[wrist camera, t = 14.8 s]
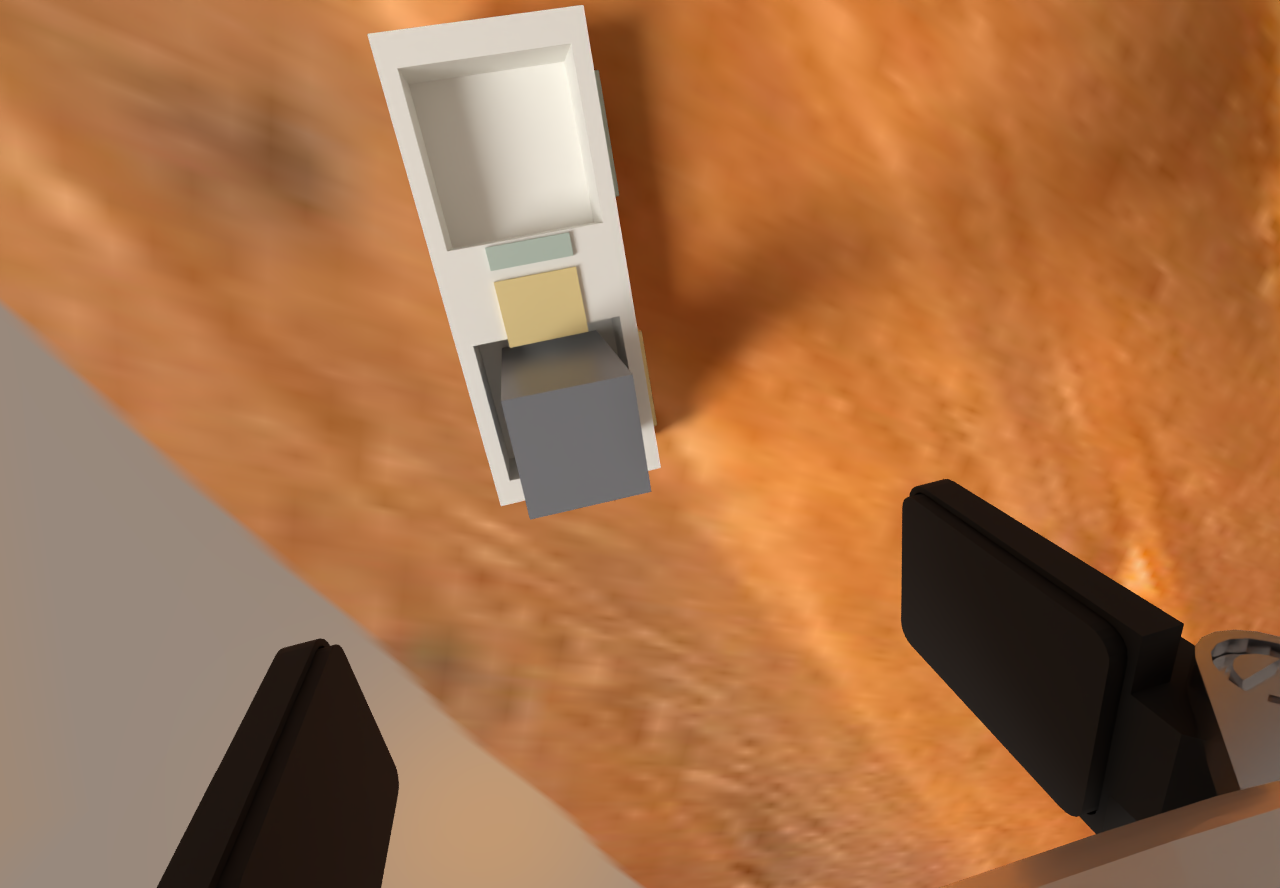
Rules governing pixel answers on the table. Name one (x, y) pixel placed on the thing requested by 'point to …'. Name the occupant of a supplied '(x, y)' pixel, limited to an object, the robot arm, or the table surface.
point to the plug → (572, 423)
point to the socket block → (514, 198)
